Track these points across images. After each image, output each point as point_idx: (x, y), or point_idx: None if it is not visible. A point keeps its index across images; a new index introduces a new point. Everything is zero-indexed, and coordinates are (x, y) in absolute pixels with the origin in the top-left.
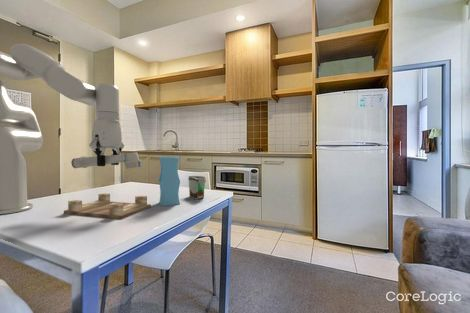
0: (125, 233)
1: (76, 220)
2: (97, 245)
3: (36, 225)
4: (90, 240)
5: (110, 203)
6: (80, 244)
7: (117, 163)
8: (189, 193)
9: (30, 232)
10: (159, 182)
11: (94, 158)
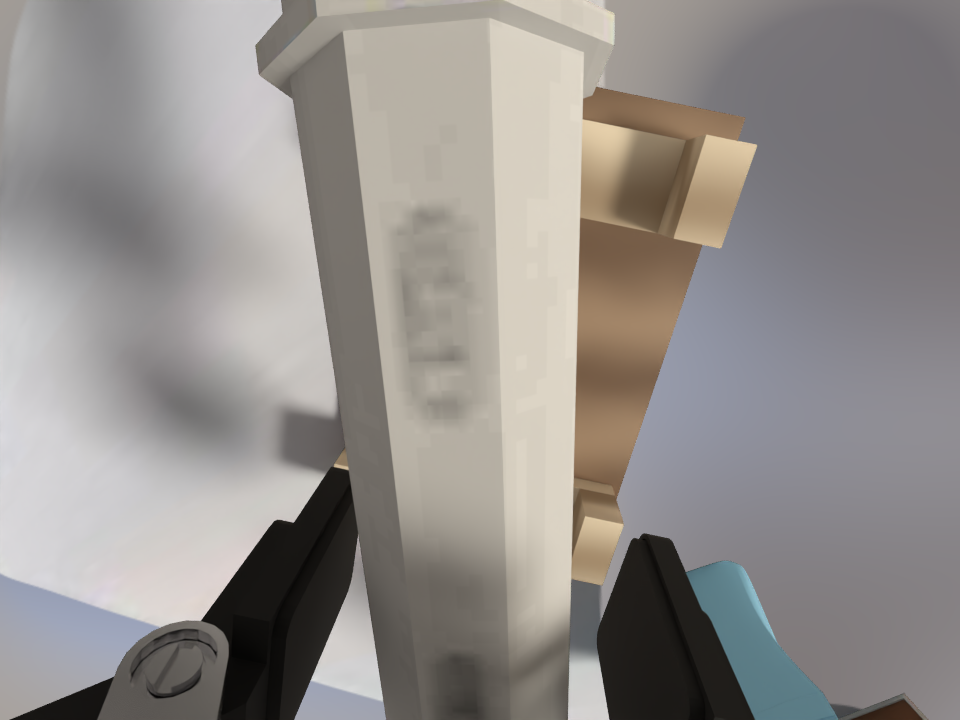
0: (186, 590)
1: (279, 275)
2: (70, 554)
3: (152, 101)
4: (93, 509)
5: (632, 278)
6: (55, 498)
7: (603, 656)
8: (921, 714)
9: (68, 181)
10: (754, 716)
11: (358, 438)
